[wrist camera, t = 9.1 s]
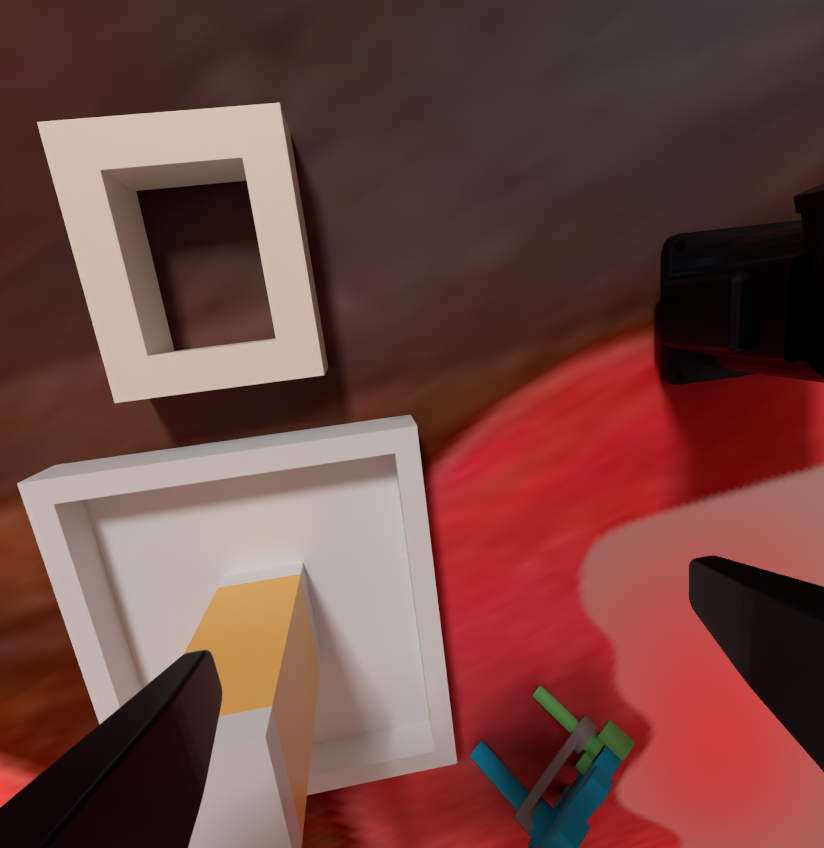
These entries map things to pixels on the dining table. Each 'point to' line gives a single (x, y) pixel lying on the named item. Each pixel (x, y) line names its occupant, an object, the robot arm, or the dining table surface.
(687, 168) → the dining table surface
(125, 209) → the white shallow boxy piece
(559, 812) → the blue toy water gun
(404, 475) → the parts tray
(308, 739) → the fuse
